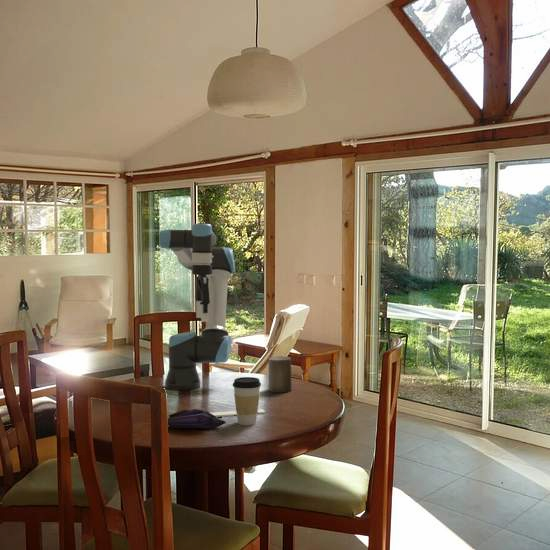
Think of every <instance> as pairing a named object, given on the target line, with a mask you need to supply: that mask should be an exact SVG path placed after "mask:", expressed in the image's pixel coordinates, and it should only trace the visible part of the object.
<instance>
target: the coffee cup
mask: <svg viewBox="0 0 550 550" xmlns="http://www.w3.org/2000/svg"><path fill="white" fill-rule="evenodd" d="M261 386H262V383H261V382H260V379H259V378H258V377H252V376H243V377H242V376H241V377H237V378H235V379H234V381H233V383H232V387H233V390H234V395H233V396H234V403H235V411H236V413H237V423H239V424H238V425H240V426H253V425H256V423H257V418H258V414H257V412H258V409H259V401H260V388H261Z"/></svg>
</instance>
